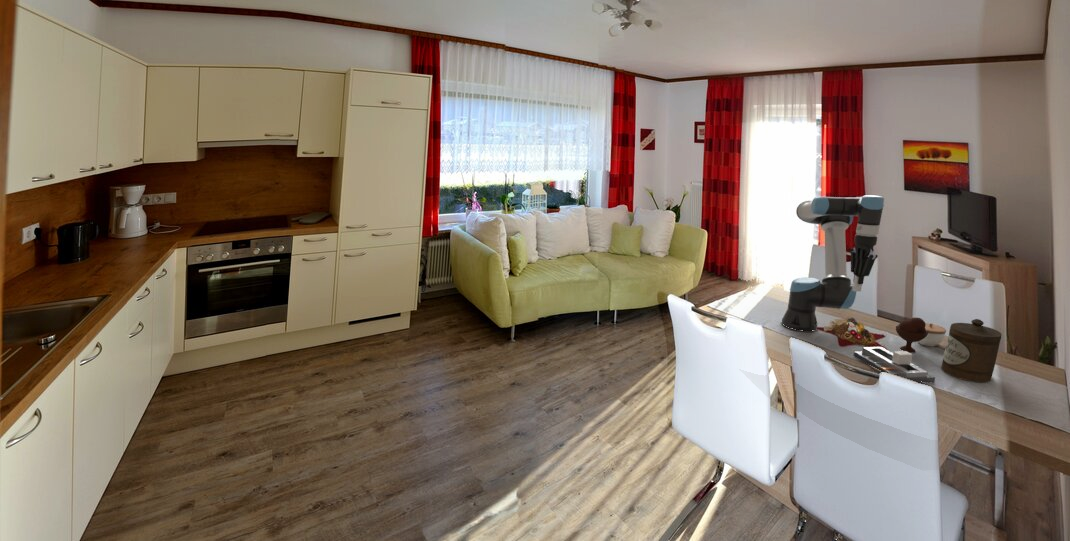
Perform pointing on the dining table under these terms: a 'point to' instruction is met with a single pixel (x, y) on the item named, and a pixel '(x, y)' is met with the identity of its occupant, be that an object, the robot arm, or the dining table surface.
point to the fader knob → (902, 358)
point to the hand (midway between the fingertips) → (856, 290)
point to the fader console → (891, 364)
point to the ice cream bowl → (911, 332)
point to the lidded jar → (933, 335)
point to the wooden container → (971, 351)
